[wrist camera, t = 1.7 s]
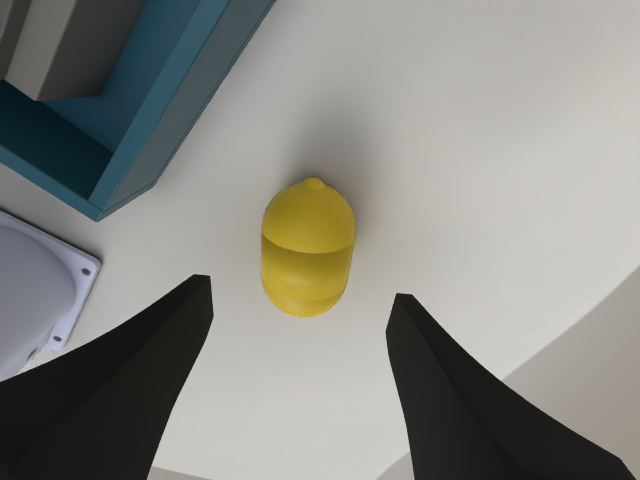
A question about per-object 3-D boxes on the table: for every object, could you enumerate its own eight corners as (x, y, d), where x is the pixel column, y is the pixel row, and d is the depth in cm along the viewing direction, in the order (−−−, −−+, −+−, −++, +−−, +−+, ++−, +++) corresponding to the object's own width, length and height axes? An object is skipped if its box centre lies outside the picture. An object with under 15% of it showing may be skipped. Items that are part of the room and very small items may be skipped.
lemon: (339, 288, 19) (343, 344, 15) (267, 282, 19) (252, 336, 15) (359, 169, 16) (371, 201, 12) (270, 160, 16) (252, 188, 12)
